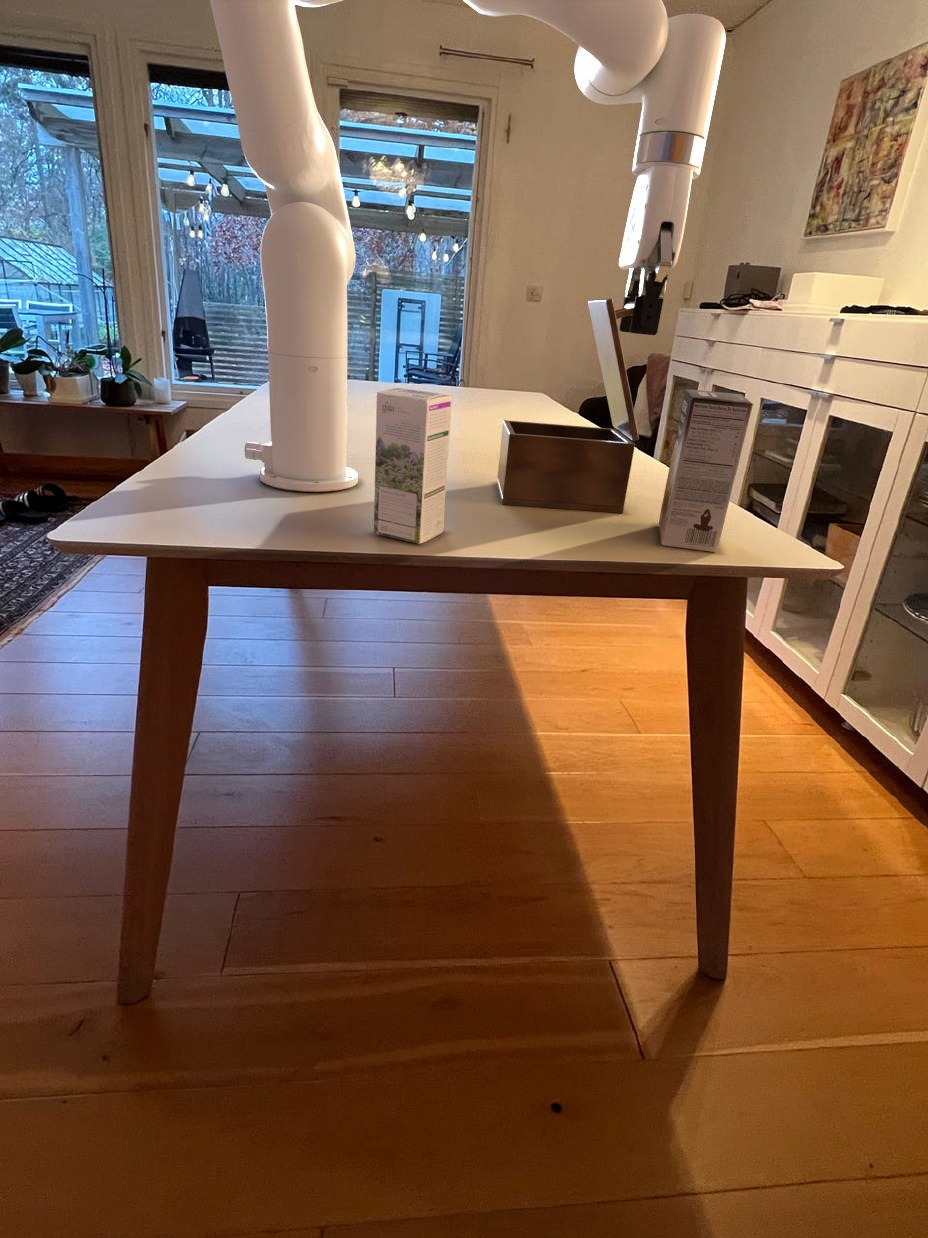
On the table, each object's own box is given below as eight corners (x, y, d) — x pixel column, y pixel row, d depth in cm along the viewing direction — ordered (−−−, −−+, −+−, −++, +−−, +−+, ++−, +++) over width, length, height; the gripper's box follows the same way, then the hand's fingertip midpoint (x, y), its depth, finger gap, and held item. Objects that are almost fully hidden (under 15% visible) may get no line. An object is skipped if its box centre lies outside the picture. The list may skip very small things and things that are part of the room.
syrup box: (445, 532, 75) (455, 393, 69) (419, 546, 70) (427, 397, 64) (399, 522, 77) (405, 386, 71) (370, 535, 72) (374, 389, 66)
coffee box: (656, 524, 85) (683, 387, 79) (709, 531, 84) (741, 393, 78) (660, 546, 77) (691, 395, 70) (719, 554, 76) (756, 402, 69)
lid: (605, 300, 79) (650, 285, 78) (587, 301, 89) (627, 288, 89) (632, 441, 85) (674, 428, 84) (612, 426, 96) (649, 415, 95)
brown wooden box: (502, 504, 88) (509, 433, 84) (496, 483, 99) (503, 419, 95) (622, 513, 89) (635, 443, 85) (604, 491, 99) (615, 428, 96)
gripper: (618, 169, 86) (594, 328, 93) (655, 138, 70) (622, 332, 77) (678, 176, 86) (648, 333, 93) (727, 147, 70) (688, 339, 78)
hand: (637, 331), depth 85 cm, fingers closed on lid, 5 cm apart
